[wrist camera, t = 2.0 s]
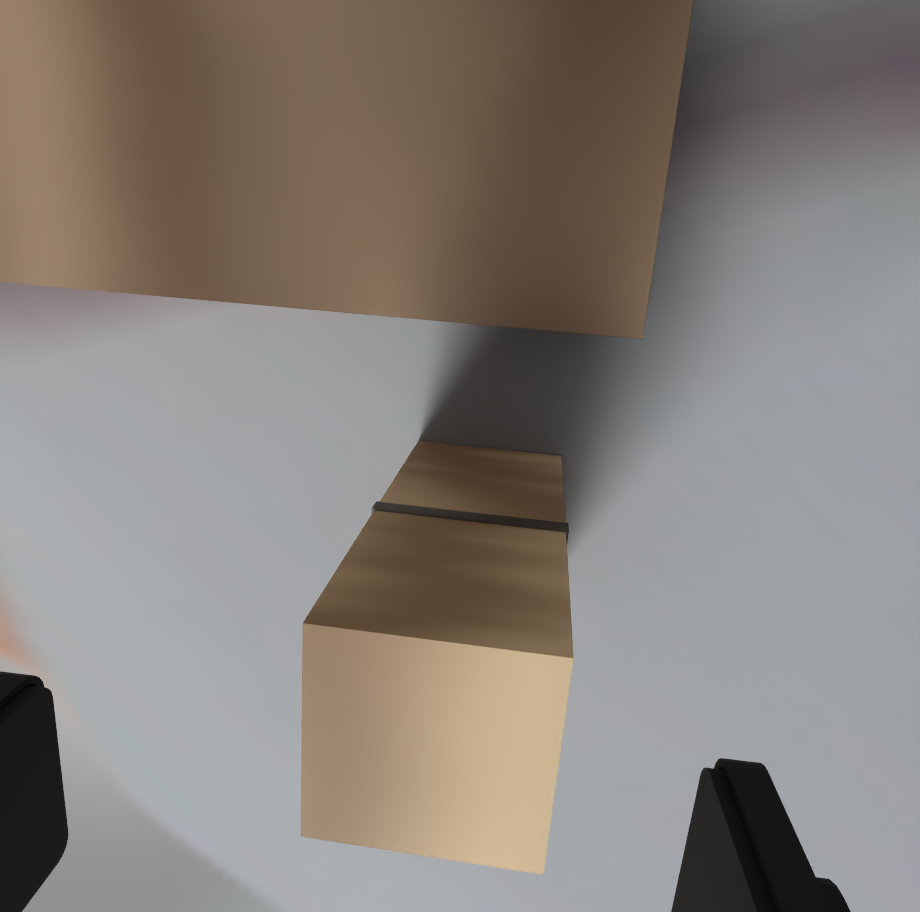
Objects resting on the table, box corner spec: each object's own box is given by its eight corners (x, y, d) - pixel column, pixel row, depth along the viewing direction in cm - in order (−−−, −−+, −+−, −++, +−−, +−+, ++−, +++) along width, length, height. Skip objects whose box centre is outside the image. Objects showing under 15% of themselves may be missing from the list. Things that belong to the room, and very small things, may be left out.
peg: (563, 453, 20) (577, 655, 10) (547, 587, 21) (546, 877, 11) (416, 438, 20) (299, 619, 11) (409, 570, 21) (298, 838, 12)
